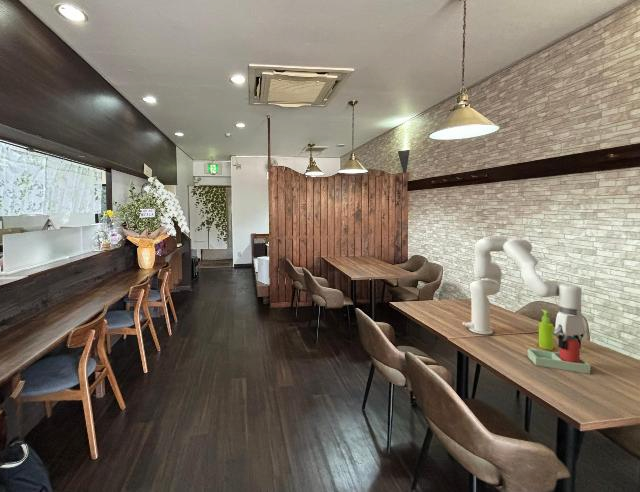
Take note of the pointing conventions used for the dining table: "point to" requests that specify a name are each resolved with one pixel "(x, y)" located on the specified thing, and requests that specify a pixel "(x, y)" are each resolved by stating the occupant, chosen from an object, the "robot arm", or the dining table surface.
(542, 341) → the soap dispenser
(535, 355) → the divided tray
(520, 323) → the dining table surface
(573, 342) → the beer can
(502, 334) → the dining table surface
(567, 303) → the robot arm
